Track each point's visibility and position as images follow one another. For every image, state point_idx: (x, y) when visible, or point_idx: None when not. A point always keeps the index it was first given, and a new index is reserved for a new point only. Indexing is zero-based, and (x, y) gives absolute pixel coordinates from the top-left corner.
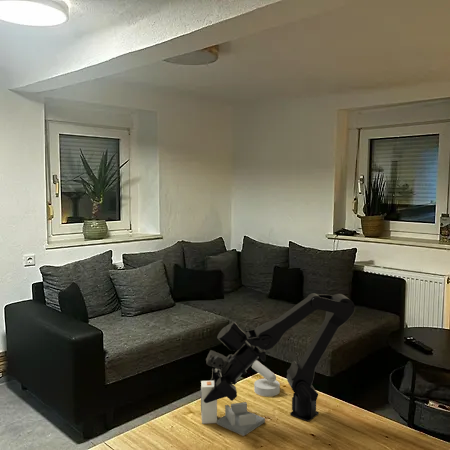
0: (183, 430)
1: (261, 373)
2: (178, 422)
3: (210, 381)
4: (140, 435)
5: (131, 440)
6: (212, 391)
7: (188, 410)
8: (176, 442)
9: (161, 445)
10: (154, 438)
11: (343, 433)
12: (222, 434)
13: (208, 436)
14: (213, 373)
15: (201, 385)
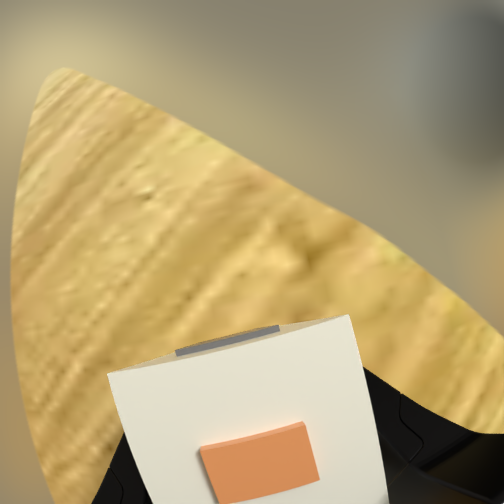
0: (111, 261)
1: None
2: (185, 216)
3: (349, 459)
4: (82, 109)
5: (58, 99)
6: (97, 501)
7: (322, 238)
8: (26, 254)
9: (15, 202)
10: (57, 160)
11: None
12: (109, 457)
13: (78, 394)
14: (466, 501)
15: (256, 339)
